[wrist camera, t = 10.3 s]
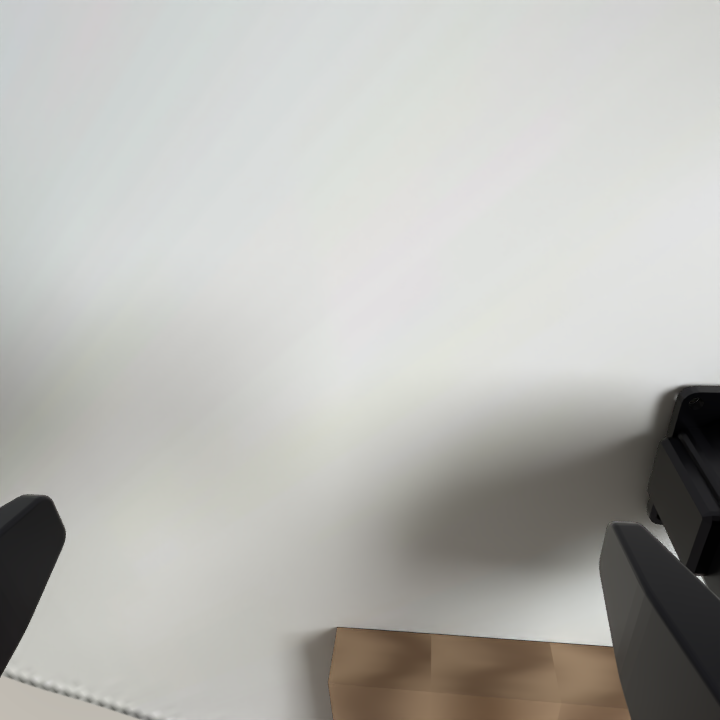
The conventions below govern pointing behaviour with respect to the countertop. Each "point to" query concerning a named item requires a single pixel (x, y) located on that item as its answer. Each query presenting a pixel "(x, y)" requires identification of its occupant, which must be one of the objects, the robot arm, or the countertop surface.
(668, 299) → the countertop surface
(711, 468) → the robot arm
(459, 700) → the board
